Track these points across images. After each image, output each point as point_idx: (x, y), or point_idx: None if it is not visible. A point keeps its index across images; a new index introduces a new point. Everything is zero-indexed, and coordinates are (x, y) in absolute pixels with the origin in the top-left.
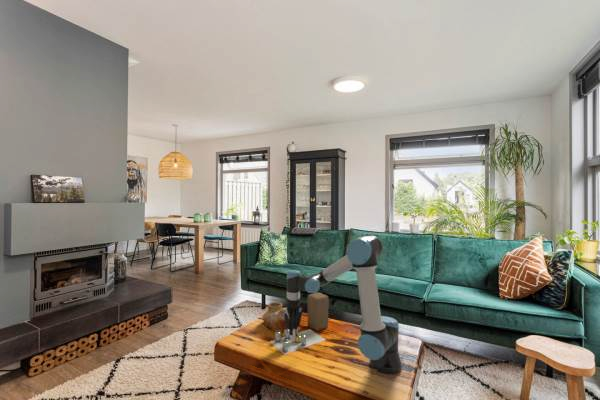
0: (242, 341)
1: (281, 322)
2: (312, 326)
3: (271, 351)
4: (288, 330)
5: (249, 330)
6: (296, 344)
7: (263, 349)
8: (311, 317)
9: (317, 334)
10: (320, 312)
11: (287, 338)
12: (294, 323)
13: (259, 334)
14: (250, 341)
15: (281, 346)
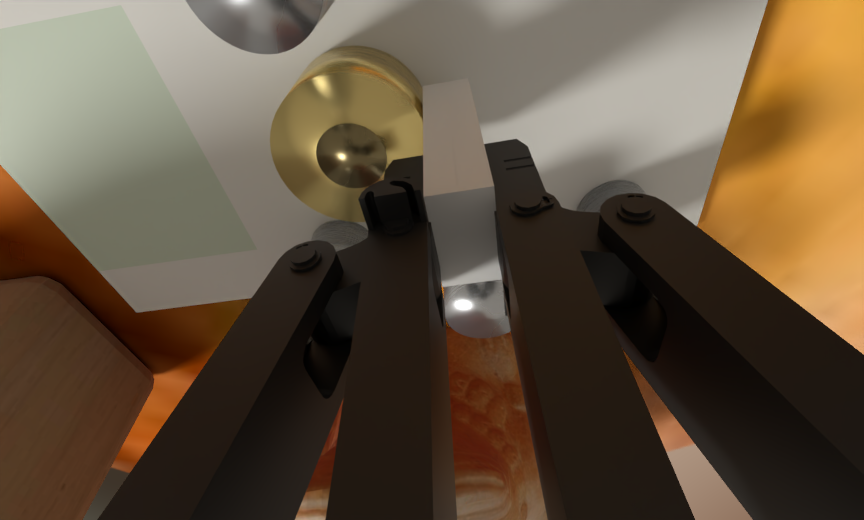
0: (845, 332)
1: (486, 446)
2: (90, 338)
3: (830, 32)
4: (475, 292)
5: (660, 427)
6: (422, 19)
7: (853, 130)
8: (40, 444)
9: (15, 175)
10: None
11: None
12: (436, 336)
13: (640, 373)
14: None
15: (665, 65)
